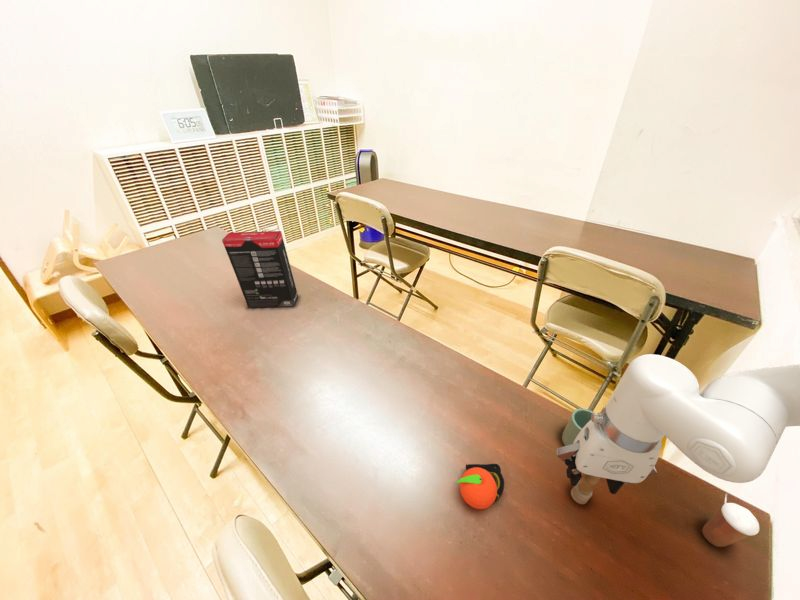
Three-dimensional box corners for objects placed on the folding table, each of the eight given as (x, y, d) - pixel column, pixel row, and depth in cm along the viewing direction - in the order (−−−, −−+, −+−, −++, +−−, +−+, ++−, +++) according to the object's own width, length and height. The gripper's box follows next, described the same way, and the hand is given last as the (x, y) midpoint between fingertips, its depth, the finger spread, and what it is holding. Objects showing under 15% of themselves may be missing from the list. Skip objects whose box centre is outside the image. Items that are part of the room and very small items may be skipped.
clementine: (454, 514, 61) (457, 498, 57) (451, 476, 66) (454, 459, 62) (497, 516, 60) (503, 500, 56) (490, 477, 66) (496, 460, 62)
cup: (597, 446, 70) (610, 426, 66) (578, 459, 68) (590, 439, 64) (574, 424, 75) (584, 404, 70) (555, 436, 73) (565, 415, 68)
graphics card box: (300, 296, 120) (281, 228, 104) (295, 307, 114) (275, 237, 98) (254, 298, 120) (228, 230, 104) (247, 310, 114) (219, 240, 98)
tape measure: (497, 469, 67) (500, 460, 65) (505, 506, 62) (508, 497, 60) (465, 469, 68) (466, 460, 65) (469, 505, 62) (471, 497, 60)
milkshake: (704, 513, 60) (736, 488, 54) (736, 546, 56) (774, 523, 50) (686, 522, 59) (716, 498, 53) (717, 556, 55) (754, 535, 49)
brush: (591, 499, 62) (613, 469, 55) (580, 507, 61) (602, 477, 54) (577, 484, 64) (597, 454, 57) (567, 492, 63) (586, 462, 56)
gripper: (572, 438, 47) (543, 493, 57) (709, 461, 43) (651, 515, 54) (563, 395, 53) (538, 452, 63) (683, 413, 49) (635, 470, 60)
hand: (590, 481), depth 59 cm, fingers open, 5 cm apart
